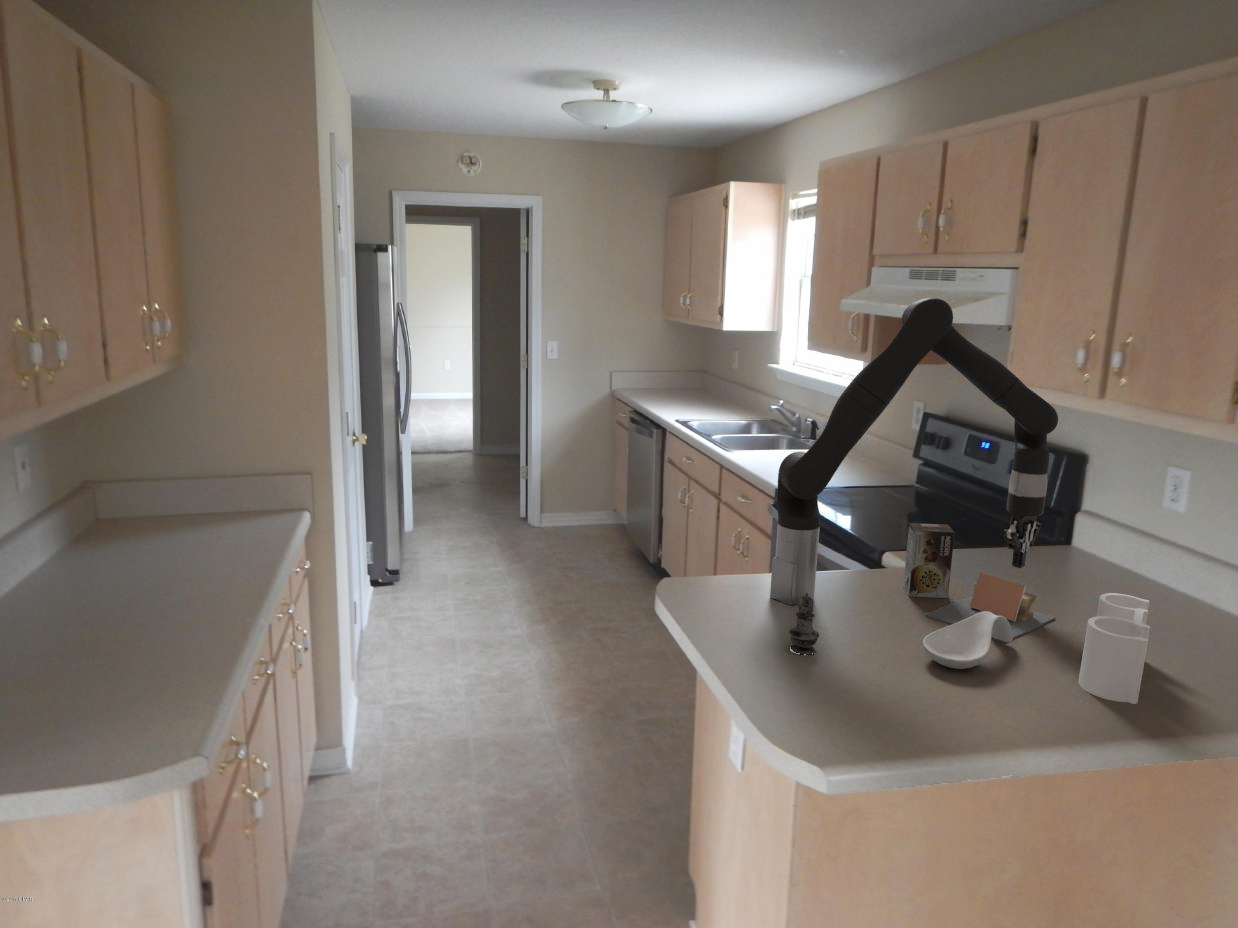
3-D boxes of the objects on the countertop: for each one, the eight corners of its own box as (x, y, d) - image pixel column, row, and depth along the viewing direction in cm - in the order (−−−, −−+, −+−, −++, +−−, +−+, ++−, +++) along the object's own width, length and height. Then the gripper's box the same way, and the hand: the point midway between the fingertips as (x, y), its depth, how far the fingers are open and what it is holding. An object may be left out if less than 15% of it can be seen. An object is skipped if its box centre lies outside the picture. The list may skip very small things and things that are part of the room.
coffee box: (941, 589, 210) (948, 523, 207) (948, 599, 204) (956, 531, 201) (901, 587, 211) (908, 521, 208) (907, 596, 205) (914, 529, 202)
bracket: (1089, 645, 181) (1097, 589, 178) (1144, 657, 176) (1153, 599, 173) (1075, 691, 160) (1084, 629, 158) (1137, 707, 155) (1148, 642, 153)
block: (1024, 621, 191) (1027, 599, 190) (972, 604, 200) (974, 583, 199) (1033, 617, 194) (1036, 595, 193) (981, 600, 203) (984, 579, 202)
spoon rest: (965, 683, 162) (970, 646, 161) (909, 660, 171) (912, 626, 169) (1028, 648, 177) (1032, 615, 175) (973, 629, 186) (976, 597, 184)
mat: (1004, 643, 180) (1004, 641, 180) (925, 615, 194) (925, 613, 194) (1055, 619, 194) (1055, 617, 194) (978, 594, 208) (978, 593, 208)
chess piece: (819, 646, 176) (824, 589, 174) (816, 658, 171) (820, 599, 168) (789, 642, 178) (793, 585, 175) (785, 653, 172) (789, 595, 170)
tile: (1012, 622, 190) (1017, 587, 188) (969, 608, 198) (973, 574, 196) (1021, 619, 193) (1026, 584, 191) (978, 604, 200) (982, 571, 198)
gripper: (1025, 483, 201) (1016, 556, 205) (995, 492, 193) (986, 568, 197) (1058, 490, 195) (1048, 565, 199) (1029, 499, 187) (1019, 577, 191)
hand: (1017, 566), depth 198 cm, fingers closed
